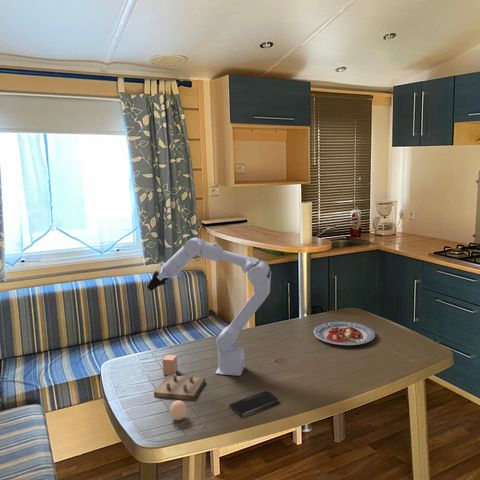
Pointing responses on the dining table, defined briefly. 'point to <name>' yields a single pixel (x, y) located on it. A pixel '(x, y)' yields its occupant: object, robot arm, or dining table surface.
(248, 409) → the phone
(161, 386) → the peg stand
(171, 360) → the pink block
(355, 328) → the ceramic plate
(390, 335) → the dining table surface
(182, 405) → the egg
